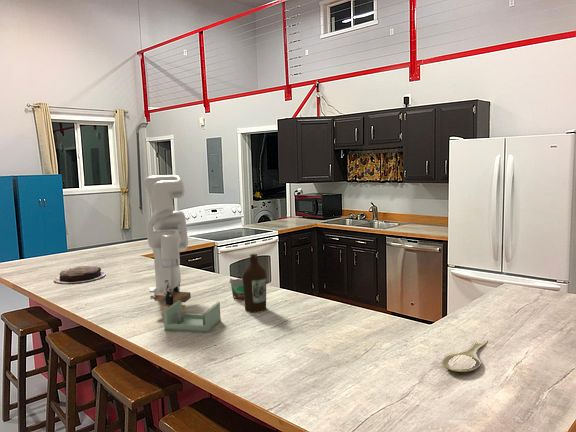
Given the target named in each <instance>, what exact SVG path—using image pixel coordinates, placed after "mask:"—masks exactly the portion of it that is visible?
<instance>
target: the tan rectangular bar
mask: <svg viewBox="0 0 576 432" xmlns="http://www.w3.org/2000/svg"><path fill="white" fill-rule="evenodd" d="M170 306H171V305H166V303H165V304H162V305H161V315H162V316H164V310H166V309H167V308H169V307H170ZM181 308H182V310H183V313H187V309H186V304H181Z"/></svg>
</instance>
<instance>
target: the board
mask: <svg viewBox="0 0 576 432" xmlns="http://www.w3.org/2000/svg"><path fill="white" fill-rule="evenodd" d="M169 292H170V291H169ZM172 296H173V303H176V302H177V301H181V303H186V302H188V301H189V300H190V299H191V296H192V295H191V292H189V291H180V292H175V291H172ZM154 302H166V297H165V294H164V292H163V291H160V292H158V293H157V294H155V298H154Z"/></svg>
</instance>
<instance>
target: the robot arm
mask: <svg viewBox="0 0 576 432" xmlns="http://www.w3.org/2000/svg"><path fill="white" fill-rule="evenodd" d="M143 182H144V183H143V184H144V185H143V186H144V190H145V193H146V196H147V198H148V200H149V202H150V207H151V216H150V217H149V218H148V221H147V223H146V237H147V243H148V246H149V248H151V249H152V254H153V261H154V277H155V287H149V288H148V289H149V293H153V295H152V296H153V298H154V299H155V294H157V293H158V292H160V291H163V292H164V294H165V297H166V301H165V304H166V305H173V304H174V302H173V296H172V291H175V292H181V291H180V290H181V287H180V286H181V282H182V281H181V280H182V278H181V277H182V276H181V267H180V266H181V265H180V264H181V260H180V252H184V251H186V250H187V249H188V247H189V238H188V230H187V219H186V215H185V213H184V212H183V211H182V210H175V208H174V201H173V199H180V198H183V197H184V195H185V185H184V183H183V180H182V178H181V176H179V175H178V174H177V175H176V174H165V175H162V174H161V175H160V174H159V175H149V176H147V177H146V178H145V179H144V181H143ZM154 230H155V231H154ZM169 291H170V292H169Z"/></svg>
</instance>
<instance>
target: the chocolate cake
mask: <svg viewBox="0 0 576 432" xmlns="http://www.w3.org/2000/svg"><path fill="white" fill-rule="evenodd" d="M105 276H106V272H105V271H102V268H101V267H99V266H97V265H96V266H90V265H86V266H85V265H82V266H77V267H74V268H69V269H66V270H61V272H59V276H57V277H55V278H54V279H53V281H54V283H55V284H60V285H61V284H63V285H64V284H65V285H72V284H84V283H88V282H95V281H97V280H101V279H103V278H104V277H105Z"/></svg>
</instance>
